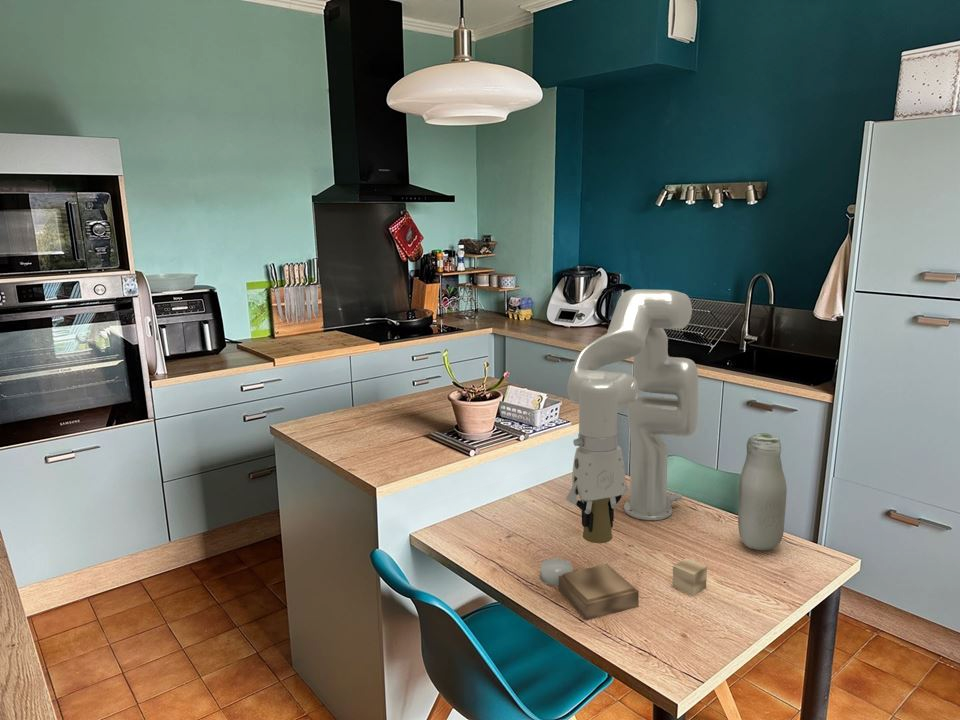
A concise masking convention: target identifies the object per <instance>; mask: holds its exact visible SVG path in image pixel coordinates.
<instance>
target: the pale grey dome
mask: <svg viewBox="0 0 960 720" xmlns="http://www.w3.org/2000/svg"><path fill="white" fill-rule="evenodd" d="M570 572H574V571H573V564H572V562H570V561H569V560H567V559H563V558H558V557H557V558H555V557H554V558H548V559H545V560H544V561H542V562H541V563H540V580H541V579H542V580H541V581H542V582H543V583H544V584H546V585H549V586H553V587H559V576H561V575H563V574H565V573H570Z"/></svg>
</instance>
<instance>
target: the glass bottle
mask: <svg viewBox="0 0 960 720" xmlns="http://www.w3.org/2000/svg"><path fill="white" fill-rule="evenodd" d="M781 452H782V444H781V440H780V438H779V437H777V436H776V435H774V434H770V433H766V432H761V433H755V434H752V435H750V437H749V438H748V440H747V441H746V456H745V460H744V463H743V467H742V470H741V471H740V472H741V473H740V476H739V480H738V481H739V482H738V515H737V525H738V527H737V528H738V534H739V537H740V539H741V542H742V543H743V544H744V545H745V546H747V547H748V548H749V549H753V550H757V551H769V550H773V549H775V548H776V547H778V546H779V545H780V544H781V542H782V541H783V537H784V531H785V520H786V518H785V517H786V507H787V490H788V489H787V482H786V476H785V473H784V470H783V464H782V458H781V454H782V453H781Z"/></svg>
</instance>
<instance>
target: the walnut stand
mask: <svg viewBox="0 0 960 720" xmlns="http://www.w3.org/2000/svg"><path fill="white" fill-rule="evenodd" d="M558 591H559V593H561V594H562V596H563V597H564V598H565V599H566V600H567V601H568V602H569V603H570V604H571V605H572V606H573V608H575V610H577V611H578V612H579V614H580V615H581V616H582V617H583V618H584V619H585V620H586V621H588V620H593V619H596V618H599V617H604V616H607V615H612V614H615V613H619V612H623V611H627V610H631V609H634V608H638V607H639V597H640V595H639V594H640V593H639V592H640V591H639V590H638V589H637V588H636V587H634V586H633V585H632V584H631V583H630V582H629V581H628V580H626V579H625V578H624V577H623V576H622V575H621V574H619V573H618V572H617V571H616V570H615V569H613V568H612V567H611V566H610V565H609V564H608V563H604V564H600V565H595V566H592V567H588V568H583V569H579V570H575V571H573V572H570V573H565V574H563V575H561V576H559V586H558Z"/></svg>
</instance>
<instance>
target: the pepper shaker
mask: <svg viewBox="0 0 960 720" xmlns="http://www.w3.org/2000/svg"><path fill="white" fill-rule="evenodd" d="M609 500H610V498H605V499H601V500H595V501H592V507H591V513H593V529H592V532H589V529H588V527H583V531H582V538H583V539H584V540H585V541H587V542H589V543H592V544H606V543H609V542H610V541H612V539H613V531H612V528H611V523H610V516H609V507H608V502H609Z"/></svg>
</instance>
